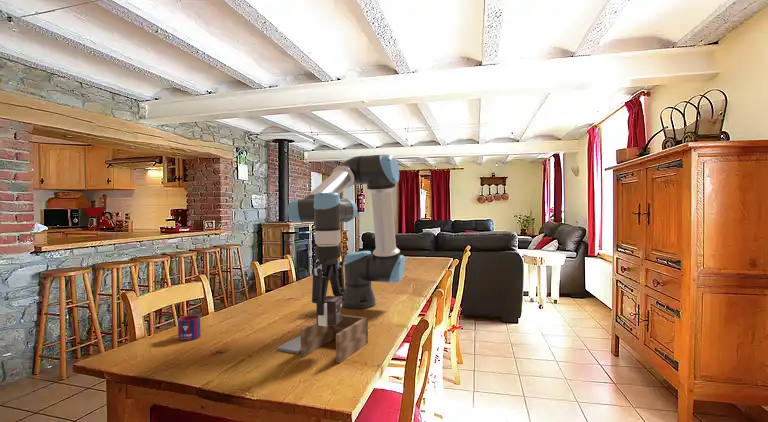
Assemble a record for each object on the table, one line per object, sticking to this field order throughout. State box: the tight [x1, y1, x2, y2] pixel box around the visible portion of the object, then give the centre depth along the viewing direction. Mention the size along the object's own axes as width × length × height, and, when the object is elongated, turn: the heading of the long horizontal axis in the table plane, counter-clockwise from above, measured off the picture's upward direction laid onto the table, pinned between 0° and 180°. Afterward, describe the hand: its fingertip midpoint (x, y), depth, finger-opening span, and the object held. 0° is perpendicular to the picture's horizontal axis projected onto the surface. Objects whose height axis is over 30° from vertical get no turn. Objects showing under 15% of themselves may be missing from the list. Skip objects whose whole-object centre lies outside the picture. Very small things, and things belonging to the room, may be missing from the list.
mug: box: [177, 314, 202, 342], centre depth 131 cm, size 7×10×7 cm
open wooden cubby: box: [300, 314, 369, 364], centre depth 117 cm, size 17×13×8 cm
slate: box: [276, 334, 301, 355], centre depth 121 cm, size 12×8×1 cm, turn 155°
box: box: [315, 295, 343, 326], centre depth 114 cm, size 6×6×7 cm
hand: (329, 321), depth 114 cm, fingers closed on box, 7 cm apart
